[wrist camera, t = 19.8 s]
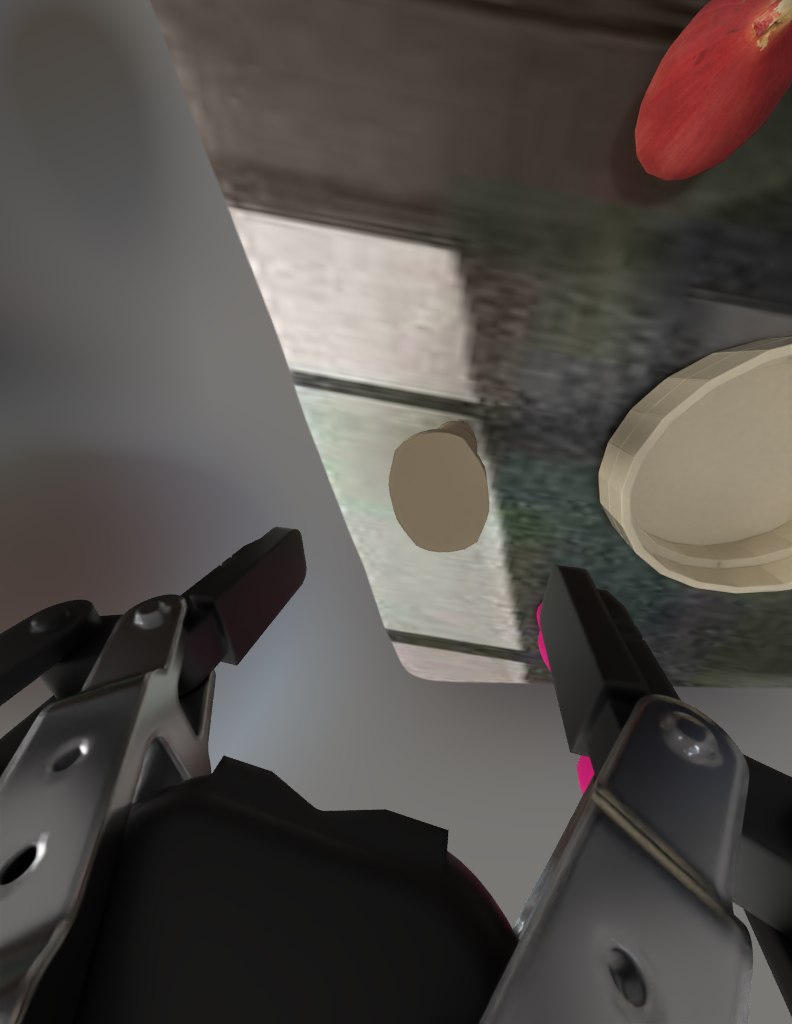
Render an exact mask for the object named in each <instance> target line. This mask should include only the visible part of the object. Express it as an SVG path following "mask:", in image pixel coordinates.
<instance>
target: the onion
mask: <svg viewBox="0 0 792 1024" xmlns="http://www.w3.org/2000/svg"><path fill="white" fill-rule="evenodd" d="M791 84H792V0H711V1H710V2H708V3H707V4H706V5H705V6H704V7H703V8H702V9H701V10H700V11H699V12H698V13H697V14H696V16H695V17H694V18H693V19H692V21H691V22H690V23H689V24H688V25H687V27H686V28H685V29H684V30H683V32H682V33H681V34H680V35H679V36H678V38H677V39H676V40H675V41H674V43H673V44H672V45H671V47H670V48H669V50H668V51H667V53H666V54H665V56H664V57H663V59H662V61H661V63H660V65H659V67H658V69H657V71H656V73H655V75H654V77H653V79H652V81H651V83H650V85H649V87H648V89H647V91H646V93H645V96H644V98H643V101H642V103H641V107H640V111H639V115H638V120H637V124H636V128H635V141H636V153H637V157H638V159H639V161H640V163H641V164H642V166H643V168H644V169H645V171H646V173H649V174H651V175H653V176H656V177H658V178H661V179H663V180H665V181H668V180H685V179H689V178H691V177H693V176H695V175H697V174H699V173H701V172H703V171H705V170H707V169H709V168H711V167H713V166H715V165H717V164H720V163H722V162H724V161H725V160H726V159H727V158H728V157H729V156H730V155H731V154H733V153H734V152H735V151H736V150H737V149H738V148H739V147H740V146H741V145H742V144H743V143H744V142H745V141H747V140H748V139H749V138H750V137H751V136H752V135H753V134H754V133H755V132H756V131H757V130H758V129H759V128H760V127H761V126H762V125H763V124H764V123H765V121H766V120H767V119H768V117H769V116H770V114H771V113H772V111H773V110H774V109H775V107H776V106H777V104H778V103H779V101H780V100H781V99H782V97H783V96H784V94H785V93H786V91H787V90H788V89H789V87H790V86H791Z"/></svg>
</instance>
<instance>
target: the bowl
mask: <svg viewBox="0 0 792 1024" xmlns="http://www.w3.org/2000/svg"><path fill="white" fill-rule="evenodd" d="M598 476H599V492H600V502H601V505H602V507H603V509H604V511H605V512H606V514H607V516H608V518H609V520H610V522H611V524H612V526H613V527H614V528H615V529H616V530H617V532H618V533H619V534H620V535H621V536H622V537H623V539H624V540H625V541H626V542H627V543H628V544H629V546H630V547H631V548H632V549H633V550H634V551H635V553H636V554H637V555H639V556H640V557H641V558H642V559H643V560H645V561H646V562H647V563H648V564H649V565H650V566H652V567H653V568H654V569H655V570H656V571H658V572H659V573H660V574H662V575H665V576H667V577H670V578H672V579H675V580H677V581H680V582H682V583H685V584H687V585H690V586H692V587H695V588H701V589H708V590H716V591H723V592H730V593H751V592H767V591H782V590H789V589H792V336H788V337H778V338H768V339H762V340H759V341H755V342H751V343H748V344H744V345H741V346H737V347H733V348H730V349H726V350H722V351H719V352H715V353H713V354H710V355H709V356H707V357H705V358H703V359H701V360H699V361H697V362H696V363H694V364H692V365H690V366H688V367H686V368H684V369H683V370H681V371H679V372H677V373H675V374H673V375H671V376H670V377H668V378H667V379H665V380H664V381H663V382H661V383H660V384H659V385H658V386H657V387H656V388H654V389H653V390H652V391H651V392H650V393H649V394H648V395H646V396H645V397H644V398H643V399H642V400H641V401H640V402H638V403H637V404H636V405H635V406H634V407H633V408H632V409H631V410H630V411H629V413H628V414H627V416H626V417H625V419H624V420H623V421H622V423H621V424H620V426H619V427H618V429H617V430H616V432H615V433H614V434H613V436H612V437H611V439H610V440H609V442H608V444H607V447H606V451H605V454H604V457H603V460H602V463H601V466H600V470H599V474H598Z"/></svg>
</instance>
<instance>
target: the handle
mask: <svg viewBox="0 0 792 1024" xmlns="http://www.w3.org/2000/svg"><path fill="white" fill-rule="evenodd" d="M389 491H390V496H391V500H392V504H393V509H394V512H395V515H396V518H397V520H398V522H399V524H400V525H401V527H402V528H403V530H404V531H405V532H406V533H407V535H408V536H409V537H410V538H411V540H412V541H413V542H414V543H415V545H416V546H418V547H420V548H423V549H425V550H428V551H434V552H453V551H458V550H462V549H465V548H467V547H469V546H471V545H473V544H474V543H476V542H477V541H478V539H479V537H480V534H481V532H482V530H483V527H484V525H485V522H486V520H487V516H488V512H489V496H488V487H487V478H486V470H485V466H484V464H483V463H482V461H481V459H480V457H479V456H478V454H477V442H476V438H475V435H474V433H473V431H472V429H471V428H470V427H469V426H468V425H466V424H465V423H464V421H462V420H458V421H451V422H446V423H445V424H443V425H441V426H440V427H439V428H438V429H432V430H427V431H423V432H420V433H418V434H415V435H413V436H411V437H410V438H408V439H407V440H406V441H404V442H403V443H402V444H401V445H400V446H399V447H398V448H397V449H396V450H395V453H394V458H393V462H392V466H391V471H390V476H389Z"/></svg>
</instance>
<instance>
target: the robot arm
mask: <svg viewBox="0 0 792 1024" xmlns="http://www.w3.org/2000/svg"><path fill="white" fill-rule="evenodd" d="M305 576H306V561H305V555H304V548H303V542H302V537H301V533H300V531H299V530H297V529H290V528H282V527H275V528H273V529H272V530H270V531H269V532H268V533H267V534H265V535H264V536H263V537H262V538H260V539H258V540H256V541H254V542H252V543H250V544H248V545H245V546H244V547H242V548H241V549H240V550H239V551H237V552H236V553H235V554H233V555H232V558H228V559H227V560H226V561H224V562H223V563H222V565H221V566H220V565H219V566H218V567H217V568H215V569H214V570H213V571H212V572H210V573H209V574H208V575H206V576H205V577H204V578H202V579H201V580H200V581H199V582H197V583H196V584H195V585H194V586H192V587H191V588H190V589H188V590H187V591H186V592H184V593H183V594H182V595H181V596H179V595H162V596H158V597H155V598H151V599H148V600H146V601H144V602H142V603H140V604H138V605H136V606H134V607H133V608H131V609H130V610H128V611H127V612H126V613H125V614H123V615H110V616H99V614H98V613H97V611H96V609H95V608H94V606H93V604H92V603H91V602H89V601H87V600H73V601H68V602H64V603H60V604H56V605H54V606H51V607H48V608H46V609H44V610H41V611H40V612H38V613H36V614H34V615H32V616H30V617H28V618H27V619H25V620H23V621H21V622H20V623H18V624H16V625H15V626H13V627H12V628H10V629H8V630H6V631H5V632H3V633H1V634H0V706H1V705H2V704H4V703H5V702H6V701H8V700H9V699H10V698H12V697H13V696H14V695H16V694H17V693H18V692H20V691H21V690H22V689H23V688H25V687H26V686H28V685H29V684H30V683H32V682H33V681H34V680H36V679H37V678H38V677H40V679H41V680H42V681H43V683H44V684H45V685H46V686H47V687H48V689H49V690H50V691H51V692H52V694H53V696H52V697H51V698H50V699H49V700H47V701H46V702H45V703H44V704H42V705H41V706H40V707H39V708H37V709H36V710H35V711H34V712H33V713H31V714H30V715H29V716H28V717H27V718H25V720H23V721H22V722H21V723H19V724H18V725H17V726H16V727H14V728H13V729H12V730H11V731H10V732H8V733H7V734H6V735H5V736H3V737H2V738H1V739H0V1024H748V1014H749V1003H750V991H751V980H752V966H753V952H752V942H751V938H750V934H749V931H748V929H747V927H746V926H745V925H744V924H743V923H742V922H741V921H740V920H739V919H738V918H737V917H736V916H735V915H734V913H733V906H732V901H733V902H734V903H736V904H737V905H739V906H740V907H742V908H743V909H744V911H745V913H746V916H747V918H748V920H749V922H750V925H751V927H752V929H753V931H754V934H755V936H756V938H757V940H758V942H759V945H760V947H761V949H762V951H763V954H764V956H765V958H766V960H767V963H768V965H769V967H770V969H771V971H772V974H773V976H774V978H775V980H776V983H777V985H778V987H779V989H780V992H781V994H782V996H783V998H784V1001H785V1003H786V1005H787V1007H788V1009H789V1012H790V1014H791V1016H792V777H790V776H788V775H786V774H783V773H782V772H779V771H777V770H775V769H773V768H771V767H769V766H766V765H764V764H762V763H760V762H758V761H756V760H754V759H752V758H749V757H748V756H746V755H744V754H742V753H741V751H740V749H739V748H738V746H737V745H736V744H735V742H734V741H733V740H732V739H731V737H730V736H729V735H728V734H727V733H726V732H725V731H724V730H723V729H722V728H721V727H719V726H718V725H717V724H716V723H715V722H714V721H713V720H711V719H710V718H709V717H707V716H706V715H705V714H703V713H701V712H700V711H699V710H697V709H695V708H694V707H692V706H690V705H688V704H686V703H684V702H682V701H681V700H680V698H679V697H678V695H677V693H676V692H675V690H674V688H673V687H672V685H671V683H670V682H669V680H668V678H667V677H666V675H665V673H664V672H663V670H662V668H661V667H660V665H659V663H658V662H657V660H656V658H655V657H654V655H653V653H652V652H651V650H650V648H649V647H648V645H647V644H646V642H645V641H644V640H642V635H641V634H640V632H639V630H638V629H637V627H636V626H634V624H633V623H634V622H633V620H632V619H631V617H630V615H629V614H628V612H627V610H626V609H625V607H624V606H623V605H622V604H621V603H620V602H619V601H618V600H617V599H616V598H614V597H613V596H612V595H611V594H610V593H609V592H608V591H606V590H599V589H597V588H596V587H595V585H594V583H593V581H592V579H591V577H590V575H589V573H588V572H587V570H585V569H581V568H574V567H566V566H559V565H555V566H554V567H553V568H552V570H551V574H550V577H549V580H548V584H547V587H546V591H545V594H544V598H543V601H542V604H541V609H540V627H541V632H542V636H543V640H544V644H545V648H546V653H547V657H548V661H549V665H550V669H551V674H552V678H553V682H554V686H555V690H556V694H557V699H558V703H559V707H560V711H561V716H562V719H563V724H564V728H565V732H566V737H567V741H568V745H569V749H570V752H571V753H575V754H579V755H583V756H587V757H590V760H591V764H592V767H593V771H594V775H593V777H592V779H591V781H590V782H589V784H588V786H587V788H586V790H585V792H584V794H583V796H582V798H581V800H580V802H579V804H578V806H577V807H576V809H575V812H574V813H573V815H572V817H571V819H570V821H569V823H568V825H567V827H566V829H565V831H564V832H563V834H562V836H561V838H560V840H559V842H558V844H557V846H556V848H555V850H554V852H553V854H552V856H551V857H550V859H549V861H548V863H547V865H546V867H545V869H544V870H543V872H542V874H541V876H540V878H539V879H538V881H537V883H536V885H535V887H534V888H533V890H532V892H531V894H530V896H529V898H528V899H527V902H526V903H525V905H524V907H523V909H522V911H521V913H520V915H519V917H518V919H517V920H516V922H515V924H514V926H513V928H512V927H511V925H510V924H509V922H508V920H507V918H506V917H505V915H504V914H503V912H502V911H501V909H500V908H499V906H498V905H497V903H496V902H495V900H494V899H493V897H492V896H491V894H490V893H489V892H488V891H487V889H486V888H485V887H484V886H483V884H482V883H481V882H480V881H479V880H478V878H477V877H476V876H475V875H474V874H473V873H472V872H471V871H470V870H469V869H468V868H467V867H466V866H465V865H464V864H463V863H462V862H461V861H460V860H458V859H457V858H456V857H455V856H453V855H452V854H451V853H449V852H448V851H447V844H448V830H446V829H443V828H440V827H437V826H434V825H431V824H428V823H425V822H422V821H419V820H416V819H413V818H410V817H407V816H404V815H401V814H397V813H395V812H392V811H389V810H349V811H348V810H347V811H321V810H318V809H316V808H314V807H313V806H312V805H311V804H309V803H308V802H307V801H306V800H305V799H304V798H302V797H301V796H300V795H299V794H298V793H297V792H295V791H294V790H293V789H292V788H291V787H290V786H288V785H287V784H286V783H285V782H284V781H282V780H281V779H280V778H279V777H278V776H277V775H275V774H274V773H273V772H272V771H269V770H266V769H262V768H259V767H257V766H254V765H251V764H248V763H245V762H241V761H239V760H236V759H233V758H229V757H226V756H223V758H222V759H221V761H220V762H219V764H218V765H217V767H216V769H215V770H214V772H213V773H212V774H211V765H210V759H209V753H208V741H209V731H210V723H211V714H212V705H213V697H214V688H215V678H216V674H215V671H214V668H215V667H216V666H217V665H218V663H219V662H220V661H221V662H225V663H229V664H233V665H238V664H239V663H240V661H241V660H242V659H243V657H244V656H245V655H246V654H247V652H248V651H249V650H250V649H251V647H252V646H253V645H254V644H255V642H256V641H257V640H258V639H259V637H260V636H261V635H262V634H263V632H264V631H265V630H266V629H267V627H268V626H269V625H270V624H271V622H272V621H273V620H274V619H275V617H276V616H277V615H278V614H279V612H280V611H281V610H282V609H283V607H284V606H285V605H286V604H287V602H288V601H289V600H290V598H291V597H292V596H293V595H294V594H295V592H296V591H297V590H298V589H299V587H300V586H301V585H302V583H303V581H304V579H305Z"/></svg>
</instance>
